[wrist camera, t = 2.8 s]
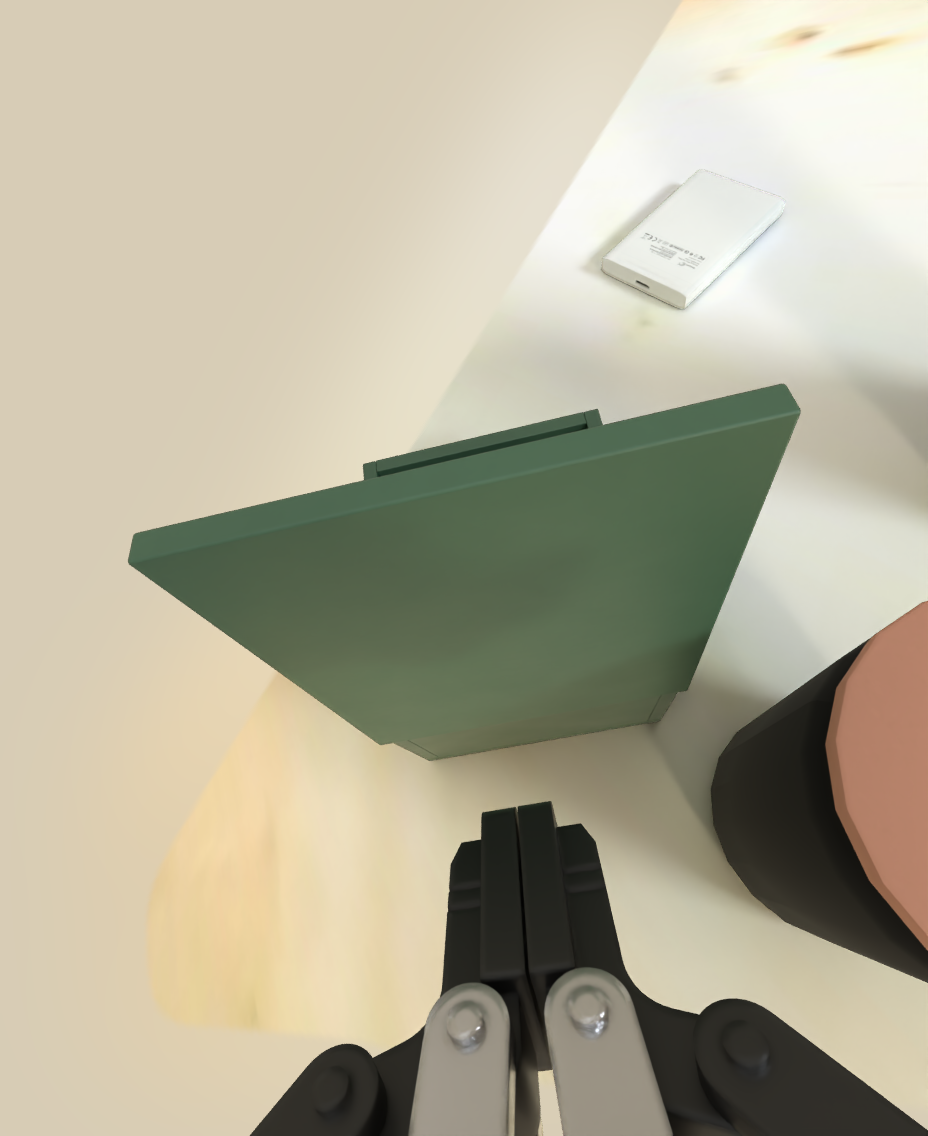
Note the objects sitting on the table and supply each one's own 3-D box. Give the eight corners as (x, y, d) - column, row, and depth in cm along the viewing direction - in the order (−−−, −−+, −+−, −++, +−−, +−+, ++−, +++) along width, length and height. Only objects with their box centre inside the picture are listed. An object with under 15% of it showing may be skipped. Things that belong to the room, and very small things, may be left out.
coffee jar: (899, 994, 26) (1394, 1239, 10) (672, 852, 30) (768, 867, 14) (969, 780, 29) (1439, 707, 13) (752, 676, 33) (909, 522, 17)
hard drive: (781, 218, 47) (684, 312, 45) (694, 186, 51) (600, 272, 48) (787, 198, 46) (687, 294, 44) (698, 167, 49) (601, 254, 47)
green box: (405, 534, 41) (362, 463, 33) (595, 492, 40) (597, 408, 32) (428, 761, 34) (382, 738, 27) (660, 721, 33) (683, 684, 25)
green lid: (131, 532, 12) (124, 563, 12) (785, 381, 11) (803, 410, 11) (378, 728, 26) (379, 745, 26) (682, 673, 25) (688, 690, 24)
